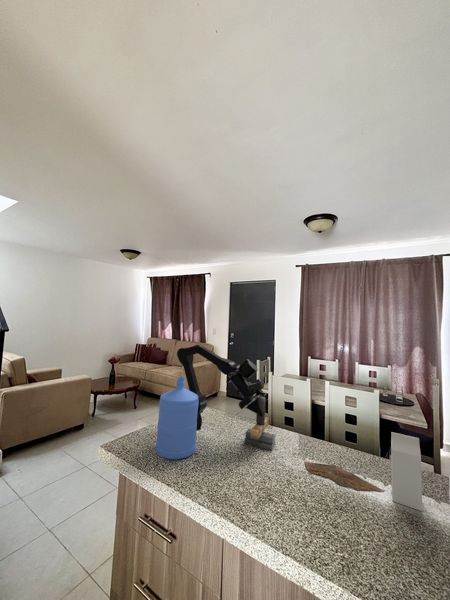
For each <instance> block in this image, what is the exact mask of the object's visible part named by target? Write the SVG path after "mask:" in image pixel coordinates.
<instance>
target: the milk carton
mask: <svg viewBox="0 0 450 600" xmlns="http://www.w3.org/2000/svg"><path fill="white" fill-rule="evenodd" d="M390 439H391V440H390V443H391V444H390V445H391V447H390V457H391V460H390V461H391V463H390V464H391V492H392V494H391V495H392V502H394V503H397V504H400V505H403V506H406V507H408V508H412V509H415V510H417V511H420V512H422V511H423V487H422V486H423V483H422V482H423V480H422V454H421V448H420V447H421V446H420V438H419V437H417V436H416V437H415V436H411V435H405V434H402V433H397V432H393V431H391V438H390Z"/></svg>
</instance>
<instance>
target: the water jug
mask: <svg viewBox="0 0 450 600" xmlns="http://www.w3.org/2000/svg"><path fill="white" fill-rule="evenodd" d="M176 379H177V380H176V387H175V388H173V389H170V390H169V391H167V392H163V393H162V394H161V395H160V398H159V402H158V403H159V404H158V409H159V410H158V419H157V420H158V421H157V433H156V434H157V435H156V443H155V453H156V454H157V455H158V457H161V458H163V459H166V460H182V459H186V458H188V457H190V456H191V455H193V454H194V452H195V451H196V449H197V442H196V441H197V430H196V429H197V413H198V403H199V401H198V395H197V394H195V393H193V392H191V391H189V389H188V388H187V389H186V387H185V384H186V383H185V379H186V377H183V376H179V377H177V378H176Z"/></svg>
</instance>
